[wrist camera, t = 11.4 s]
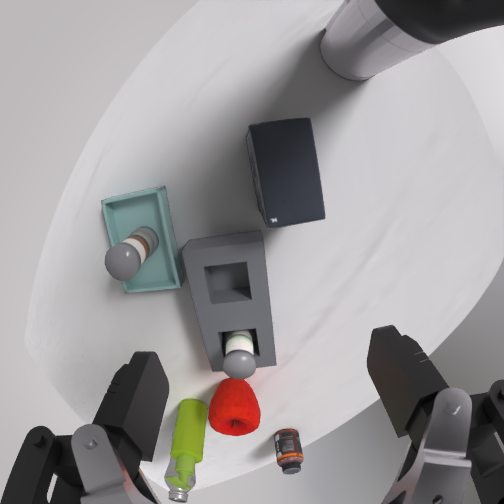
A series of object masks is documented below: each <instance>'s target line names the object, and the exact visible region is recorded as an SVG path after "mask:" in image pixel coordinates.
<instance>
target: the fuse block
mask: <svg viewBox="0 0 504 504" xmlns="http://www.w3.org/2000/svg"><path fill="white" fill-rule="evenodd" d="M182 255H183V260H184V264H185V269H186V273H187V278H188V282H189V286H190V290H191V294H192V298H193V303H194V307H195V310H196V314H197V318H198V322H199V326H200V329H201V333H202V337H203V340H204V344H205V348H206V351H207V355H208V358H209V361H210V365H211V368H212V371H213V372H215V371H224V372H225V373H226V375H228V376H229V377H231V378H234V379H245V378H248V377H250V376H252V375H253V374H254V372H255V370H256V368H259V367H267V366H275V365H276V355H275V345H274V335H273V325H272V315H271V306H270V296H269V287H268V278H267V269H266V260H265V251H264V242H263V238H262V234H261V230H260V231H252V232H244V233H236V234H229V235H221V236H214V237H206V238H199V239H192V240H189V241H188V242H187V244H186V246H185V247H184V249H183V251H182Z"/></svg>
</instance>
